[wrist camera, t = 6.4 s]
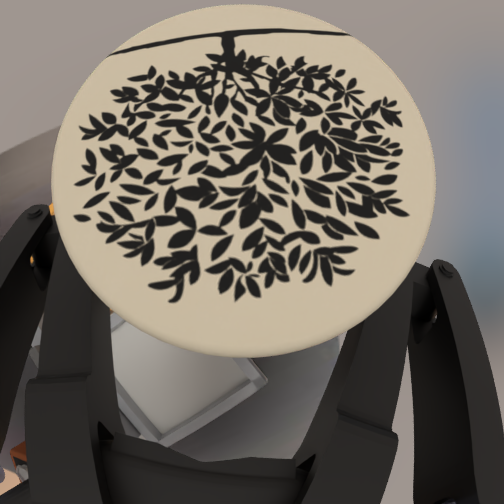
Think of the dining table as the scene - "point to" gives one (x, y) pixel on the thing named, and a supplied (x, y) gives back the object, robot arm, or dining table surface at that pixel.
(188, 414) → the grey orange flat box
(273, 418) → the dining table surface
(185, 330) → the travel mug
